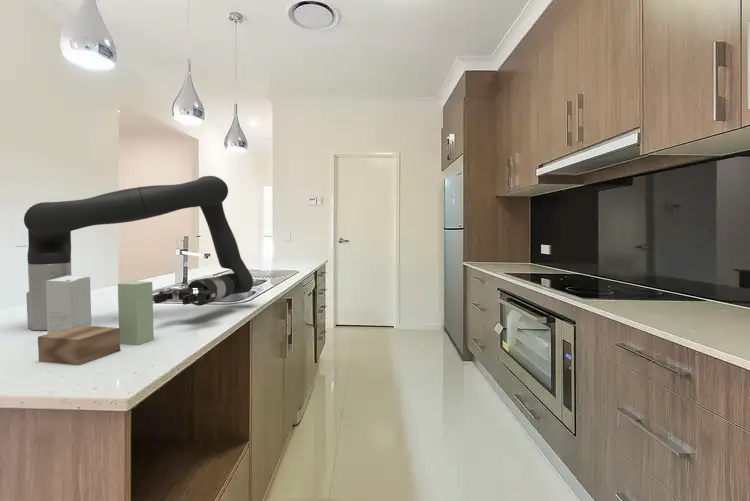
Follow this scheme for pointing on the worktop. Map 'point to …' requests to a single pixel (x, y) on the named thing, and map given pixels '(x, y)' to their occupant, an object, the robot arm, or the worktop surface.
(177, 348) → the worktop surface
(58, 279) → the skincare box
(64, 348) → the walnut riser block
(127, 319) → the sage block
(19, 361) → the worktop surface
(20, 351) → the worktop surface
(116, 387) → the worktop surface
